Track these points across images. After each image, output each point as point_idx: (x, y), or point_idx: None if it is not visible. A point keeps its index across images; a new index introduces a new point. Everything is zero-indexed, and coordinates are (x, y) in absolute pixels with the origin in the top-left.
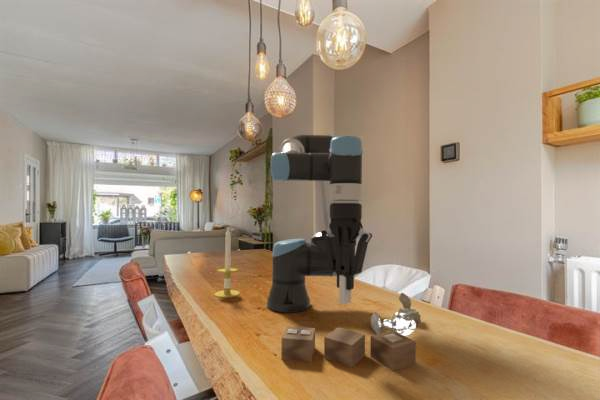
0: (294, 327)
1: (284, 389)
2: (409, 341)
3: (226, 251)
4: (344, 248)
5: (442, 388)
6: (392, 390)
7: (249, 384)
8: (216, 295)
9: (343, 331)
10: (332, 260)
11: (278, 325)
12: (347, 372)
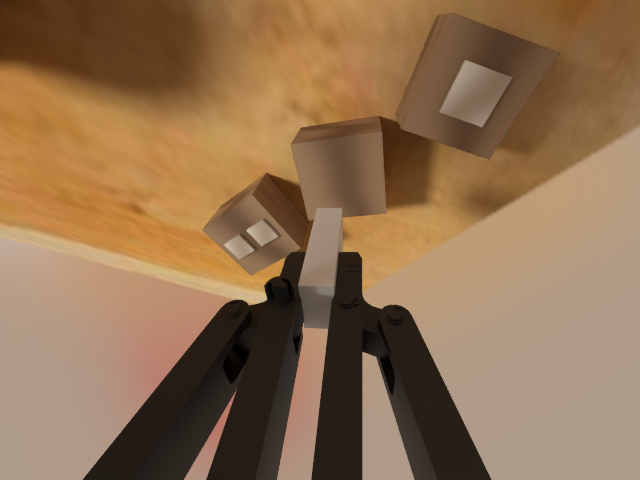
0: (217, 224)
1: None
2: (535, 72)
3: None
4: (264, 469)
5: (597, 129)
6: (486, 206)
7: None
8: None
9: (320, 159)
10: (236, 388)
11: (98, 138)
12: None
